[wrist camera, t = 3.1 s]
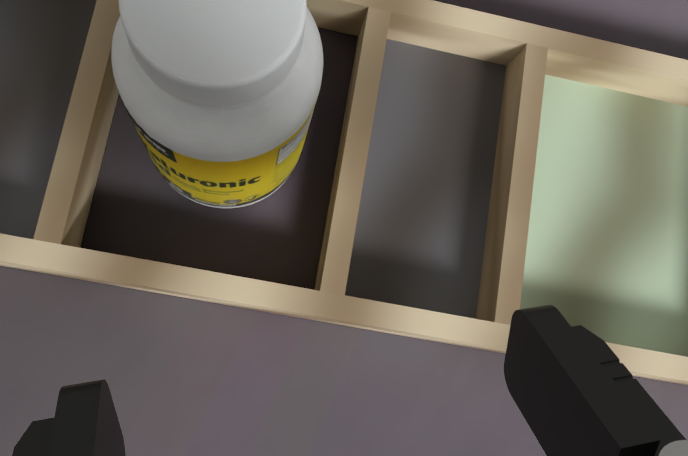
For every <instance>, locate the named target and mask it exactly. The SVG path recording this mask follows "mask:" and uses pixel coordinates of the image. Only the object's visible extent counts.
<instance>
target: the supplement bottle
mask: <svg viewBox="0 0 688 456" xmlns="http://www.w3.org/2000/svg"><path fill="white" fill-rule="evenodd" d="M119 12H120V17H119V19H118V21H117V24H116V27H115V30H114V34H113V39H112V49H111V60H112V69H113V75H114V79H115V82H116V86H117V88H118V91H119V94H120V97H121V100H122V102H123V104H124V106H125V108H126V110H127V112H128V114H129V116H130V118H131V119H132V121H133V123H134V125H135V127H136V129H137V131H138V133H139V135H140V137H141V139H142V141H143V143H144V145H145V148H146V150H147V151H148V153H149V156H150V157H151V159H152V161H153V163H154V165H155V167H156V168H157V170H158V171H159V173H160V174H161V175H162V177H163V178H164V179H165V180H166V182H167V183H168V184H169V185H170V186H171V187H172V188H174V189H175V190H176V191H177V192H179V193H180V194H181V195H183V196H185V197H186V198H188V199H190V200H192V201H194V202H196V203H199V204H202V205H205V206H209V207H215V208H238V207H244V206H248V205H251V204H254V203H256V202H259V201H261V200H263V199H265V198H266V197H268V196H270V195H271V194H273V193H274V192H275V191H276V190H277V189H278V188H280V187H281V186H282V185H283V184H284V183H285V181H286V180H287V179H288V178H289V176H290V175H291V173H292V172H293V170H294V168H295V166H296V164H297V162H298V160H299V157H300V154H301V151H302V148H303V145H304V142H305V138H306V135H307V132H308V128H309V125H310V121H311V118H312V114H313V111H314V107H315V104H316V101H317V98H318V94H319V91H320V87H321V81H322V74H323V48H322V43H321V38H320V34H319V31H318V28H317V25H316V23H315V20H314V18H313V16H312V14H311V13H310V11H309V9H308V7H307V1H306V0H119Z"/></svg>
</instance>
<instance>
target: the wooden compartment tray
mask: <svg viewBox="0 0 688 456" xmlns="http://www.w3.org/2000/svg"><path fill="white" fill-rule="evenodd" d="M306 1H307V7H308V9H309V11H310V13H311V14H312V16H313V18H314V20H315V23H316V25H317V27H319V28H324V29H328V30H333V31H337V32H342V33H346V34H350V35H355V36H358V40H357V46H356V52H355V57H354V63H353V69H352V75H351V80H350V86H349V92H348V98H347V104H346V109H345V115H344V121H343V127H342V132H341V138H340V144H339V150H338V155H337V161H336V167H335V173H334V179H333V184H332V190H331V196H330V202H329V207H328V213H327V219H326V225H325V230H324V236H323V242H322V248H321V253H320V259H319V265H318V271H317V277H316V282H315V288H314V290H312V289H307V288H301V287H296V286H290V285H285V284H279V283H273V282H268V281H262V280H257V279H251V278H246V277H240V276H234V275H229V274H223V273H218V272H212V271H207V270H201V269H195V268H190V267H184V266H179V265H173V264H168V263H162V262H156V261H151V260H145V259H140V258H134V257H129V256H123V255H117V254H112V253H106V252H101V251H95V250H90V249H84V248H80V246H81V242H82V239H83V235H84V231H85V227H86V223H87V219H88V215H89V211H90V207H91V203H92V199H93V195H94V191H95V187H96V183H97V179H98V175H99V171H100V167H101V163H102V159H103V155H104V151H105V147H106V143H107V139H108V135H109V131H110V127H111V123H112V119H113V115H114V111H115V107H116V103H117V99H118V95H119V91H118V88H117V86H116V82H115V79H114V75H113V69H112V60H111V49H112V39H113V34H114V30H115V27H116V24H117V21H118V19H119V17H120V12H119V0H0V265H1V266H7V267H12V268H18V269H24V270H30V271H35V272H41V273H47V274H52V275H58V276H64V277H70V278H75V279H81V280H87V281H93V282H98V283H104V284H110V285H116V286H121V287H127V288H133V289H139V290H144V291H150V292H156V293H161V294H167V295H173V296H179V297H184V298H190V299H196V300H202V301H207V302H213V303H219V304H225V305H230V306H236V307H242V308H248V309H253V310H259V311H265V312H270V313H276V314H282V315H288V316H293V317H299V318H305V319H311V320H316V321H322V322H328V323H334V324H339V325H345V326H351V327H357V328H362V329H368V330H374V331H379V332H385V333H391V334H397V335H402V336H408V337H414V338H420V339H425V340H431V341H437V342H443V343H448V344H454V345H460V346H466V347H471V348H477V349H483V350H488V351H494V352H500V353H506V349H507V343H508V337H509V331H510V325H511V319H512V315H513V313H514V311H516V310H519V309H525V308H531V307H538V306H544V305H553V306H555V307H556V308H557V309H558V310H559V312H560V313H561V314H562V315H563V317H564V318H565V319H566V320H567V322H568V323H569V324H570V326H571V327H572V326H578V325H581V326H583V327H584V328H586V329H587V330H589V331H590V332H592V333H594V334H595V335H597V336H598V337H600V338H601V339H603V340H604V341H605V342H606V344H607V345H608V346H609V347H610V348H611V350H612V351H613V352H614V353H615V354H616V356H617V357H618V358H619V361H620V363H623V364H624V365H625V367H626V368H627V369H628V370H629V371H630V373H631V374H632V376H638V377H643V378H649V379H655V380H661V381H666V382H672V383H678V384H683V385H688V60H685V59H681V58H677V57H672V56H668V55H664V54H660V53H655V52H651V51H647V50H643V49H638V48H634V47H630V46H625V45H621V44H617V43H613V42H608V41H604V40H600V39H596V38H591V37H587V36H583V35H579V34H574V33H570V32H566V31H561V30H557V29H553V28H549V27H544V26H540V25H536V24H532V23H527V22H523V21H519V20H515V19H510V18H506V17H502V16H497V15H493V14H489V13H485V12H480V11H476V10H472V9H468V8H463V7H459V6H455V5H451V4H446V3H442V2H438V1H433V0H306Z"/></svg>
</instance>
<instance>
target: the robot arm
mask: <svg viewBox="0 0 688 456" xmlns="http://www.w3.org/2000/svg"><path fill="white" fill-rule="evenodd" d="M504 374H505V380H506V384H507V387H508V389H509V392H510V394H511V396H512V397H513V399H514V401H515V403H516V404H517V406H518V408H519V409H520V411H521V413H522V414H523V416H524V418H525V419H526V421H527V423H528V425H529V426H530V428H531V430H532V431H533V433H534V435H535V436H536V438H537V440H538V441H539V443H540V445H541V447H542V448H543V450H544V452H545V453H546V455H547V456H688V440H686V439H685V438H684V436H683V435H682V434H681V433H680V432H679V431H678V429H677V428H676V427H675V426H674V425H673V423H672V422H671V421H670V420H669V419H668V417H667V416H666V415H665V414H664V413H663V411H662V410H661V409H660V408H659V406H658V405H657V404H656V403H655V402H654V400H653V399H652V398H651V397H650V396H649V394H648V393H647V392H646V391H645V390H644V388H643V387H642V386H641V385H640V384H639V382H638V381H637V380H636V379H633V377H632V374H631V373H630V371H629V370H628V369H627V368H626V367H625V365H624V364H623V363H620V361H619V358H618V357H617V356H616V354H615V353H614V352H613V351H612V350H611V348H610V347H609V346H608V345H607V344H606V342H605V341H604V340H603V339H601V338H600V337H598V336H597V335H595V334H594V333H592V332H590V331H589V330H587V329H586V328H584V327H583V326H581V325H578V326H572V327H571V326H570V324H569V323H568V322H567V320H566V319H565V318H564V317H563V315H562V314H561V313H560V312H559V310H558V309H557V308H556V307H555V306H553V305H544V306H538V307H531V308H525V309H519V310H516V311H514V313H513V315H512V319H511V325H510V331H509V337H508V343H507V349H506V355H505V362H504ZM12 456H125V446H124V440H123V435H122V431H121V428H120V424H119V421H118V417H117V414H116V411H115V407H114V404H113V400H112V397H111V393H110V390H109V387H108V384H107V382H106V380H99V381H93V382H87V383H81V384H75V385H69V386H63V387H62V388H61V389H60V392H59V396H58V402H57V407H56V413H55V418H50V419H44V420H39V421H33V422H32V423H31V424H30V426H29V427H28V429H27V430H26V432H25V433H24V434H23V436H22V437H21V439H20V440H19V441H18V443H17V444H16V446H15V447H14V451H13V455H12Z"/></svg>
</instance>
